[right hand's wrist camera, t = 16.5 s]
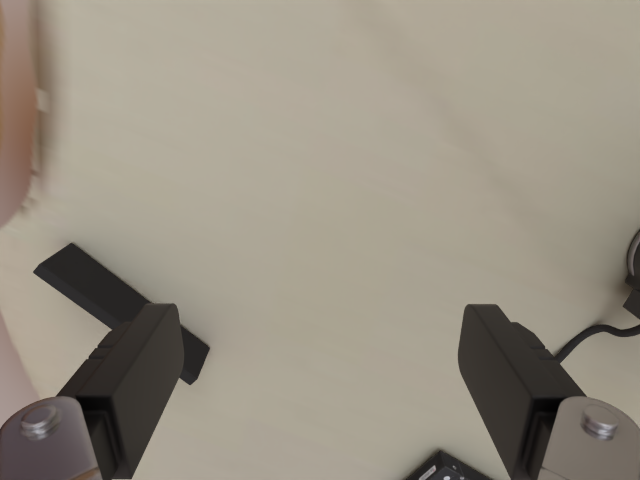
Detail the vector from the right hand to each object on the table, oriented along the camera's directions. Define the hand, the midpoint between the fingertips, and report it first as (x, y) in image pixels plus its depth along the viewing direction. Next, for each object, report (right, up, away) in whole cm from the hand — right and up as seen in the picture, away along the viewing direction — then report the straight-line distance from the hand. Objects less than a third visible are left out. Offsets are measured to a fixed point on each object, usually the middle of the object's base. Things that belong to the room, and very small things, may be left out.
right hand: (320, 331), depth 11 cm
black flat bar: (-19, -4, +31) cm, 36 cm away
